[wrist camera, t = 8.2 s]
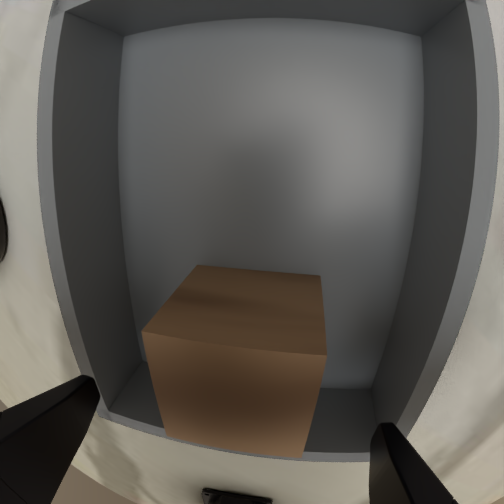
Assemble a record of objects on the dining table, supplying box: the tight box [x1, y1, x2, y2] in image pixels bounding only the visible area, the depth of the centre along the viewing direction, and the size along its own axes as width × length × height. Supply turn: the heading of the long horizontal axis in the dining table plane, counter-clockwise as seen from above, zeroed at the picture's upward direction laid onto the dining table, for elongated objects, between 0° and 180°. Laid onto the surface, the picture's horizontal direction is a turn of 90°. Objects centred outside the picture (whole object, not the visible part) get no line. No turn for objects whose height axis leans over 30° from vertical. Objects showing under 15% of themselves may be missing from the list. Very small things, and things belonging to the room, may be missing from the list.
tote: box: [37, 0, 499, 462], centre depth 10 cm, size 18×14×5 cm
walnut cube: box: [141, 265, 327, 458], centre depth 11 cm, size 5×5×5 cm
